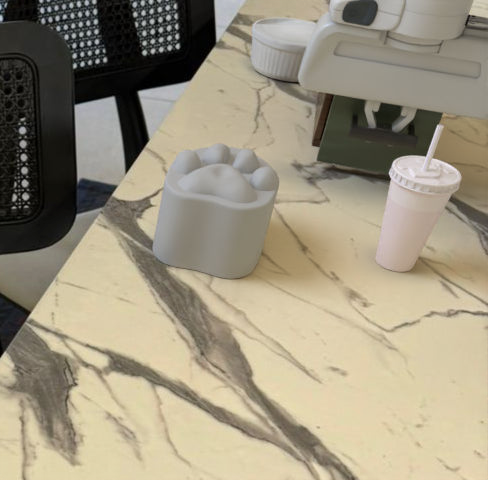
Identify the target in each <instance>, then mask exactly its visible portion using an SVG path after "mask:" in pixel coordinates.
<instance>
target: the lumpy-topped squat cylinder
mask: <svg viewBox="0 0 488 480" xmlns="http://www.w3.org/2000/svg"><path fill="white" fill-rule="evenodd" d="M279 187H280V177H279V175H278V173H277V171H276V169H274V168H273V167H272V166H271V165H270V164H269V163H268V162H267V161H265V160H264V159H263V158H261V157H259V156H258V155H257V154H256V152H255V151H254V150H253V149H250V148H243V149H242V148H239V147H238V148H237V147H232V146H228V145H227V144H224V143H220V142H219V143H218V142H217V143H215V144H212V145H211V146H207V147H206V146H205V147H200V148H196V149H183V150H181V151H180V152H179V153H177V155H176V156H175V158H174V161H173V162H171V164H170V166H169V168H168V170H167V172H166V174H165V178H164V181H163V188H162V193H161V199H160V203H159V207H158V208H159V209H158V214H157V220H156V224H155V231H154V236H153V242H152V254H153V255H154V257H155V258H156V259H157V260H158V261H160V262H161V263H163V264H165V265H168V266H170V267H174V268H179V269H186V270H192V271H197V272H201V273H204V274H207V275H210V276H213V277H216V278H220V279H228V280H234V279H242V278H244V277H247V276H249V275H250V274H251V273H252V272H254V270H255V268H256V267H257V265H258V264H259V262H260V259H261V256H262V252H263V249H264V245H265V241H266V238H267V234H268V231H269V226H270V222H271V218H272V214H273V210H274V207H275V203H276V200H277V196H278V191H279Z"/></svg>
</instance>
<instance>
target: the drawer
mask: <svg viewBox="0 0 488 480" xmlns="http://www.w3.org/2000/svg"><path fill="white" fill-rule="evenodd" d="M364 109H365V100H364V99H358V98H352V97H347V96H341V95H335V94H333V96H332V100H331V103H330V107H329V110H328V117H327V122H326V126H325V129H324V133H323V137H322V140H321V144H320V146H318V151H317V155H316V162H320V163H325V164H331V165H337V166H342V167H348V168H353V169H354V168H355V169H360V170H366V171H370V172H377V173H383V174H386V175H387V174H388V175H389V171H390V169H391V167H392V163H393V161H394V160H396V159H397V158H400V157H403V156H425V157H426V156H427V153H428V150H429V147H430V145H431V142H432V139H433V136H434V133H435V130H436V128H437V125H440V124H441V121H442V118H443V114H444V113H440V112H434V111H429V110H423V109H417V110H416V113H415V116H414V119H413V120H412V121H410V122H409V123H408V124H407V125H406V126H405V127H404V128H403V129H402V130H401V131H399V132H392V131H386V130H380V129H375V128H369V127H368V126H369V125H368V121H367V117H366V114H365V110H364ZM374 114H375V118H376V122H380V123H386V124H392V123H393V122H394V121H395V120H396V119H397V118H398V117H399V116H400V115H401V106H399V105H393V104H387V103H382V102H381V104H380V107H379V110H378V111H377V112H375V111H374ZM365 141H366V142H365ZM369 142H370V143H369ZM371 142H372V143H371ZM377 143H378V144H377ZM381 144H384V145H381ZM387 145H390V146H387Z"/></svg>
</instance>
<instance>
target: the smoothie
mask: <svg viewBox="0 0 488 480" xmlns="http://www.w3.org/2000/svg"><path fill="white" fill-rule="evenodd" d="M443 130H444V125H443V124H439V125H437V128H436V130H435V133H434V136H433V139H432V142H431V145H430V147H429V150H428V153H427V156H426V157H425V156H403V157H400V158H397V159H396V160H394V161H393V163H392V167H391V169H390V171H389V174H388V175H389V178H390V182H389V187H388V190H387V197H386V202H385V207H384V212H383V217H382V222H381V227H380V232H379V236H378V237H379V238H378V242H377V247H376V253H375V257H374V261H375V262H376V264H378V265H379V266H380V267H382V268H383V269H386V270H389V271H392V272H396V273H399V272H400V273H404V272H405V273H407V272H409V271H411V270H413V268H414V266H415V265H416V263H417V260H418V259H419V257H420V255H421V254H422V251H423V250H424V247H425V246H426V244H427V242H428V240H429V238H430V237H431V234H432V232H433V231H434V229H435V227H436V225H437V223H438V221H439V219H440V217H441V215H442V214H443V212H444V210H445V208H446V206H447V205H448V203H449V201H450V199H451V196H452V195H453V194H454V193H456V192H458V190H459V189H460V184H461V182H462V179H463V176H462V175H461V172H460V171H459V170H458V169H457V168H456V167H454V166H453V165H451V164H450V163H447V162H445V161H443V160H441V159H437V158H433V157H434V155H435V153H436V149H437V147H438V144H439V141H440V139H441V136H442V133H443Z"/></svg>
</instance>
